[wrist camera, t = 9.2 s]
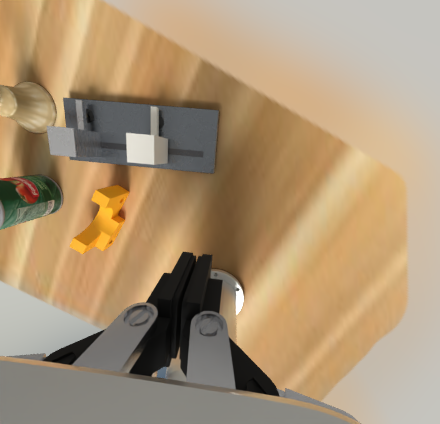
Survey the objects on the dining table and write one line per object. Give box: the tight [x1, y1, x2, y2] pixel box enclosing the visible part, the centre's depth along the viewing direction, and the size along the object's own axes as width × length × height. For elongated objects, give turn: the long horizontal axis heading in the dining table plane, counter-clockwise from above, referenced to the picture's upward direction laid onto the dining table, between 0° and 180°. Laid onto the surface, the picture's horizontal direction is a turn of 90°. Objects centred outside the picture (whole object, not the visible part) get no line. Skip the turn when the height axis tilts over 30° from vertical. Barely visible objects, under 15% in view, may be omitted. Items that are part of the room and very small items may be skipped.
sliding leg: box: [126, 106, 168, 165], centre depth 31 cm, size 8×4×6 cm, turn 175°
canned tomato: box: [0, 175, 63, 230], centre depth 35 cm, size 8×8×11 cm
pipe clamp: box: [70, 185, 129, 254], centre depth 37 cm, size 12×4×6 cm, turn 147°
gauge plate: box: [47, 98, 219, 174], centre depth 32 cm, size 10×26×8 cm, turn 85°
